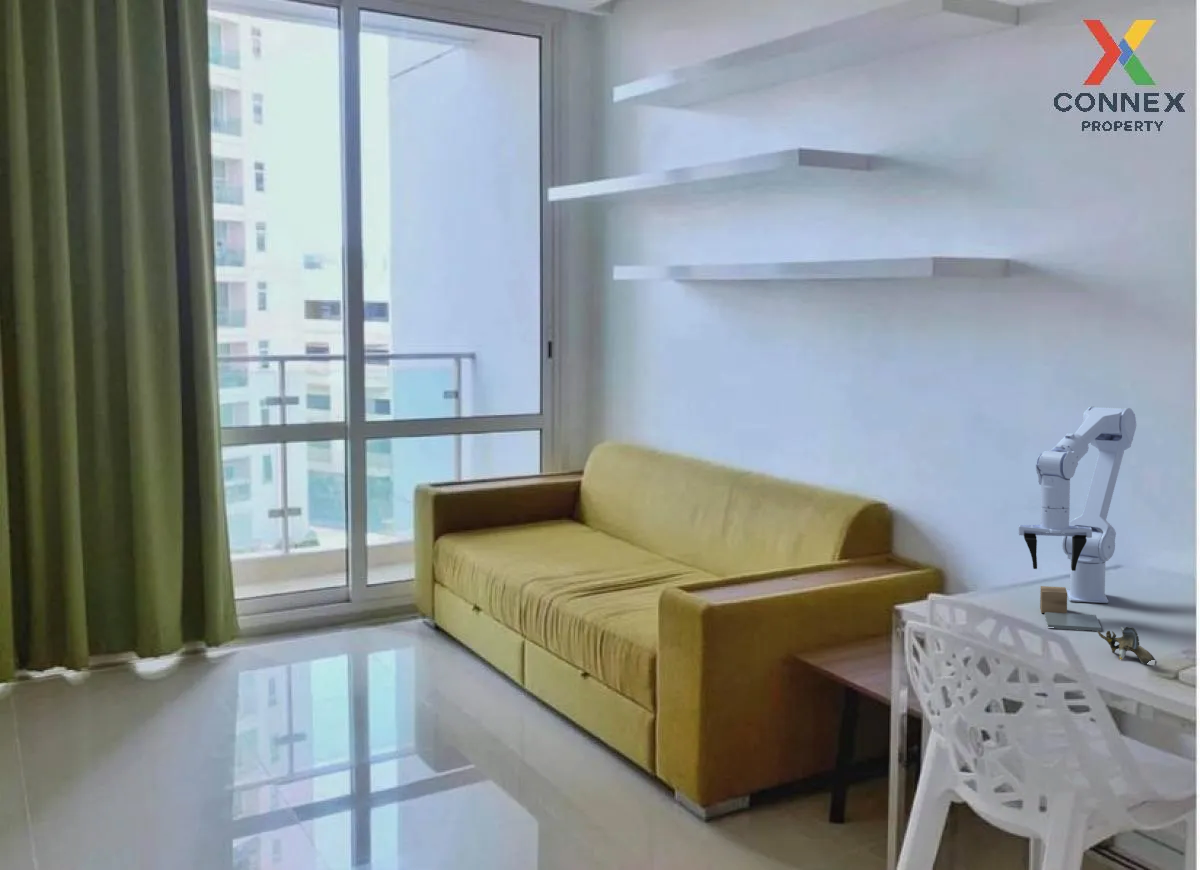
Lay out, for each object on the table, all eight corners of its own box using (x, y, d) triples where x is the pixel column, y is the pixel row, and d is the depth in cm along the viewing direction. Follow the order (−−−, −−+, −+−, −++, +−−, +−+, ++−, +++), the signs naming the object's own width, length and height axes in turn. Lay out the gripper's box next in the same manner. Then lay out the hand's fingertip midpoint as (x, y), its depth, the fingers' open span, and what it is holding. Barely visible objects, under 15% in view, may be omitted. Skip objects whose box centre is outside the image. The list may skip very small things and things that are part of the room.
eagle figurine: (1091, 651, 206) (1134, 654, 198) (1101, 616, 208) (1143, 618, 200) (1117, 667, 208) (1160, 671, 201) (1126, 633, 211) (1169, 635, 203)
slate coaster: (1044, 615, 235) (1044, 612, 234) (1095, 618, 231) (1095, 614, 231) (1048, 628, 225) (1048, 624, 225) (1101, 631, 222) (1101, 627, 222)
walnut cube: (1040, 608, 241) (1040, 586, 240) (1064, 609, 239) (1065, 587, 239) (1041, 614, 236) (1042, 591, 236) (1066, 615, 235) (1067, 592, 234)
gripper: (1019, 508, 234) (1019, 571, 235) (1094, 510, 229) (1092, 574, 231) (1018, 503, 240) (1017, 564, 242) (1090, 505, 236) (1089, 567, 237)
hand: (1054, 568), depth 237 cm, fingers open, 7 cm apart
